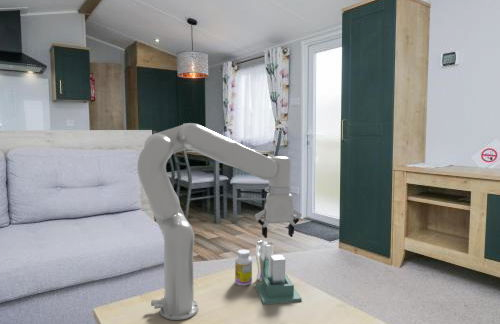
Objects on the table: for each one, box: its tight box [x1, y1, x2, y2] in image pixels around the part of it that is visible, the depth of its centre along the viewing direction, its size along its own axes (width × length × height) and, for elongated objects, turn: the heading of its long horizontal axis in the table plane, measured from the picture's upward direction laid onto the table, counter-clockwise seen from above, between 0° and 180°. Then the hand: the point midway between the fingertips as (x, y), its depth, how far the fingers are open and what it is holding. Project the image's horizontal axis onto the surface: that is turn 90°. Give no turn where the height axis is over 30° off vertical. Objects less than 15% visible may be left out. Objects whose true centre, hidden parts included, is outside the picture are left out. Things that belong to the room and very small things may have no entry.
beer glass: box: [255, 240, 274, 283], centre depth 145 cm, size 7×7×15 cm
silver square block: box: [270, 254, 286, 285], centre depth 133 cm, size 4×4×13 cm
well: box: [254, 273, 303, 305], centre depth 134 cm, size 14×14×5 cm
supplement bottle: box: [234, 249, 253, 287], centre depth 142 cm, size 7×7×13 cm
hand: (277, 236), depth 131 cm, fingers open, 9 cm apart
